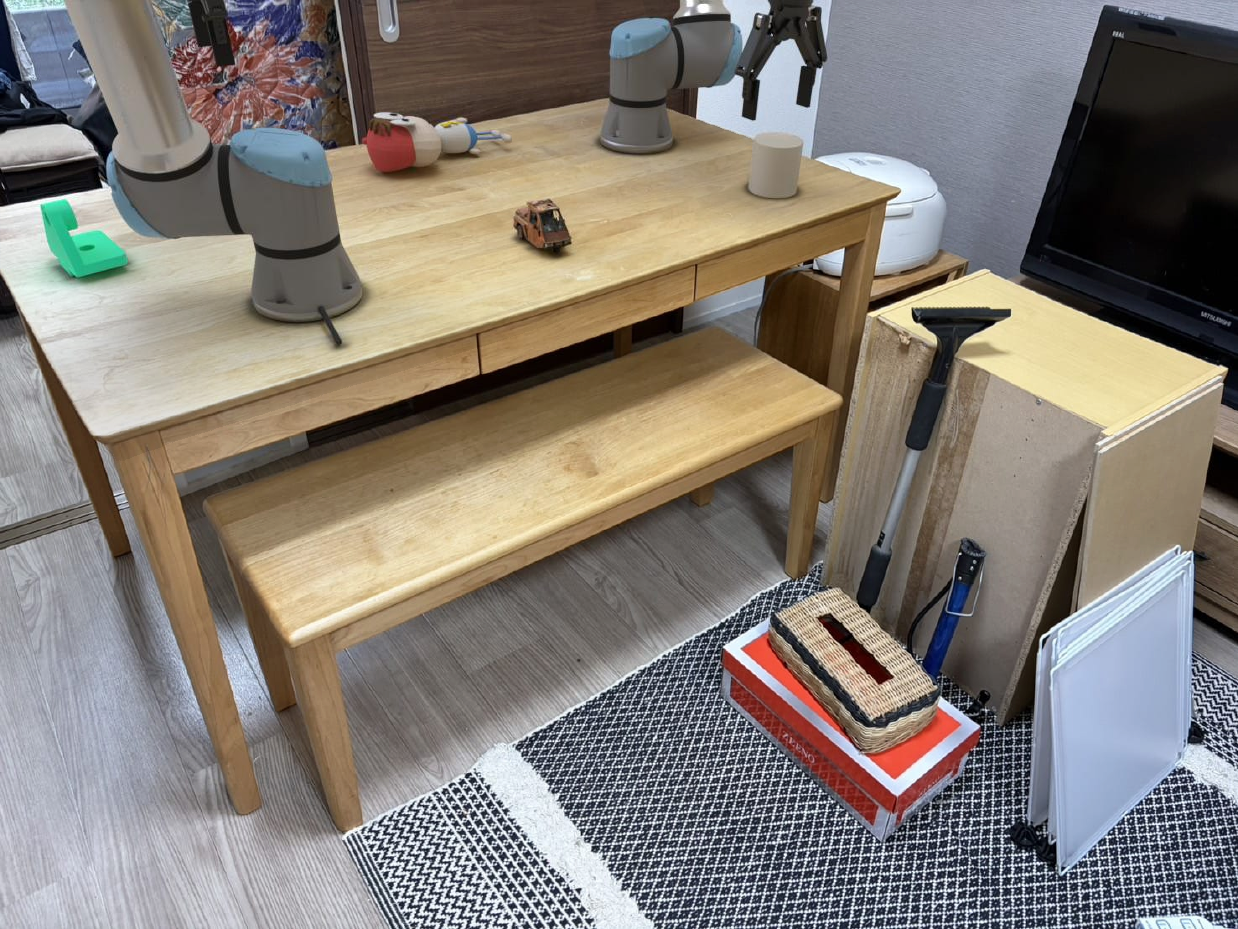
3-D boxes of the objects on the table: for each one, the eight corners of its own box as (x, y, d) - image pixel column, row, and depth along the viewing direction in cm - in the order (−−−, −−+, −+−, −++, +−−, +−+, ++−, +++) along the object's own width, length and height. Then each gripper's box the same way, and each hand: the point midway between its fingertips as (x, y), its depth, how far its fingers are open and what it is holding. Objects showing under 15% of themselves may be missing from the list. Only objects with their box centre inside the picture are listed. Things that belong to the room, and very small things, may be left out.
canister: (750, 179, 179) (755, 130, 174) (797, 183, 178) (804, 134, 172) (746, 195, 172) (751, 145, 166) (795, 200, 171) (802, 149, 165)
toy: (528, 119, 180) (378, 122, 165) (527, 172, 185) (381, 180, 170) (487, 104, 193) (345, 105, 178) (486, 154, 198) (348, 160, 183)
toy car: (537, 226, 158) (536, 186, 154) (580, 250, 150) (580, 209, 146) (506, 235, 154) (504, 194, 150) (548, 260, 147) (547, 218, 143)
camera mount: (132, 270, 140) (111, 204, 134) (79, 284, 136) (55, 217, 130) (104, 244, 147) (84, 181, 141) (53, 257, 143) (29, 192, 137)
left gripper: (227, -92, 127) (260, 71, 140) (191, -111, 144) (222, 36, 157) (169, -90, 124) (208, 76, 136) (139, -110, 141) (176, 40, 153)
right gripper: (754, -12, 141) (740, 129, 154) (861, -26, 154) (839, 105, 166) (721, -20, 146) (709, 118, 159) (827, -33, 158) (808, 95, 171)
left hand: (216, 55), depth 147 cm, fingers open, 13 cm apart
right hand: (776, 112), depth 163 cm, fingers open, 13 cm apart
